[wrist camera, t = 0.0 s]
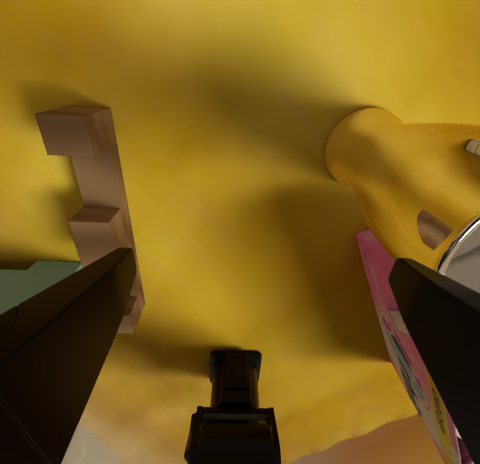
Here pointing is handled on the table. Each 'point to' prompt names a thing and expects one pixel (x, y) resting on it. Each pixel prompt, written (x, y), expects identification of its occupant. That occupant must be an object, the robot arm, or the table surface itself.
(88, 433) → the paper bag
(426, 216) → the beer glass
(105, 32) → the table surface
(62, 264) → the teal plate
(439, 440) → the gum box
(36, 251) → the table surface
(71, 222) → the walnut rail
